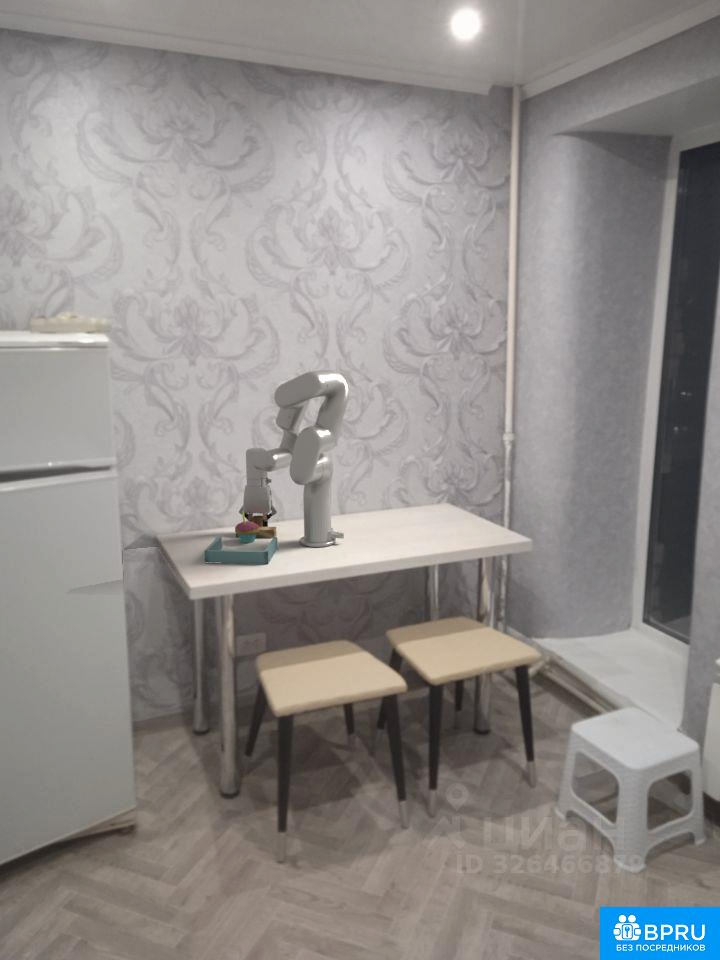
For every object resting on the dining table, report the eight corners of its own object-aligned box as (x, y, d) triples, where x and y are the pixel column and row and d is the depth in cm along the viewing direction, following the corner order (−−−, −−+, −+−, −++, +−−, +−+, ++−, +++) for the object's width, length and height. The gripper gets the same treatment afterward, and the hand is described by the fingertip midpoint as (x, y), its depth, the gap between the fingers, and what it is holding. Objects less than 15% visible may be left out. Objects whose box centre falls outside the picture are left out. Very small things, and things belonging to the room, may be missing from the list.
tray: (277, 548, 248) (277, 537, 247) (267, 564, 231) (267, 552, 230) (218, 547, 249) (218, 536, 249) (204, 563, 233) (204, 551, 232)
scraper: (278, 531, 268) (278, 515, 267) (274, 538, 261) (273, 521, 259) (241, 530, 269) (240, 515, 268) (235, 537, 262) (235, 521, 260)
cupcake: (248, 546, 251) (247, 512, 249) (230, 542, 255) (228, 509, 253) (264, 540, 258) (263, 507, 256) (246, 536, 262) (245, 504, 260)
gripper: (281, 480, 266) (282, 528, 270) (236, 479, 267) (238, 527, 271) (278, 484, 259) (279, 534, 263) (231, 483, 260) (233, 533, 264)
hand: (258, 530), depth 267 cm, fingers closed on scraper, 4 cm apart
